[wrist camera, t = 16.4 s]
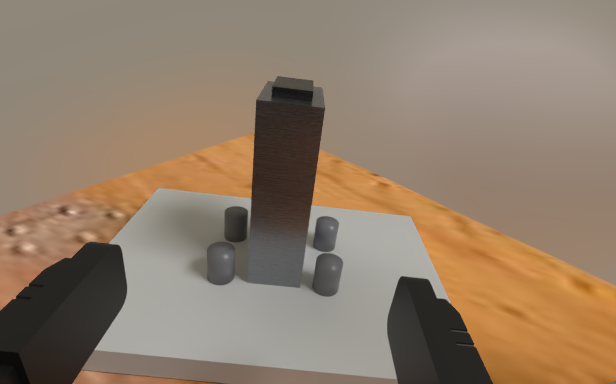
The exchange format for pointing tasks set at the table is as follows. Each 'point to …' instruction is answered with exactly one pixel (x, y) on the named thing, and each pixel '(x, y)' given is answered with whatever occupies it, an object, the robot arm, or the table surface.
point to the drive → (283, 179)
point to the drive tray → (257, 296)
